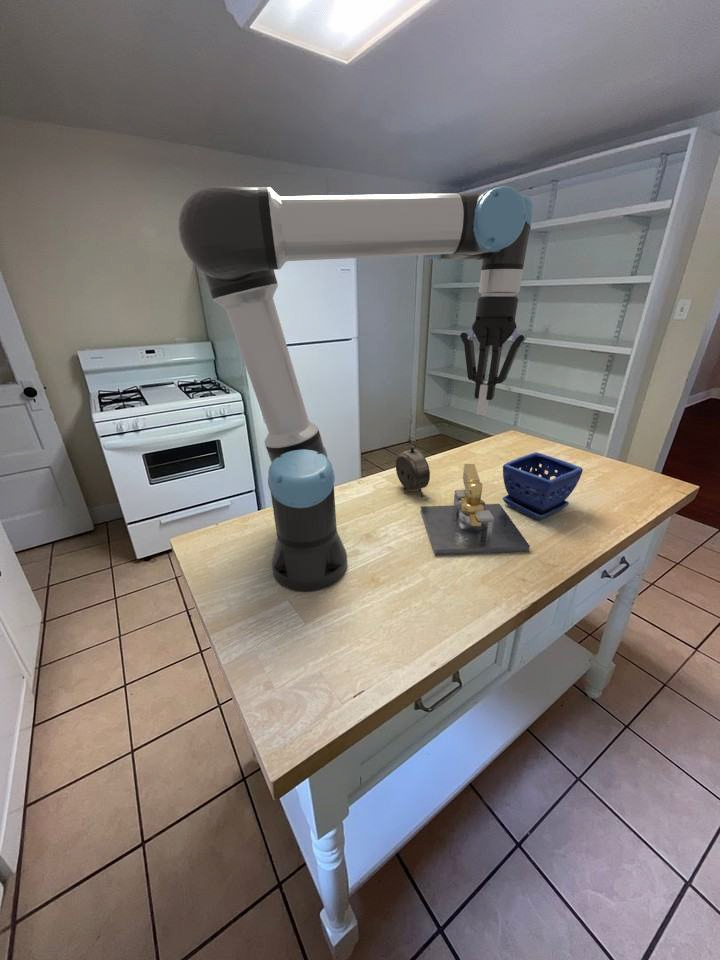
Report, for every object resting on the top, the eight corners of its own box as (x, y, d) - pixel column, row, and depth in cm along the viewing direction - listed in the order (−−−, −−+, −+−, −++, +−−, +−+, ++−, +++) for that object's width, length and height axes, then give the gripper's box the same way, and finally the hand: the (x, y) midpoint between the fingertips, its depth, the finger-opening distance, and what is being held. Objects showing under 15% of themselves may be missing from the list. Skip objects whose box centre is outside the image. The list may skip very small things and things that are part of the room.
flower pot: (541, 528, 89) (551, 482, 84) (495, 504, 99) (501, 462, 94) (574, 511, 95) (585, 467, 90) (527, 490, 105) (535, 450, 100)
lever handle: (488, 526, 80) (492, 498, 78) (463, 525, 81) (466, 497, 78) (477, 488, 96) (480, 464, 93) (456, 487, 97) (458, 463, 94)
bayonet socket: (434, 555, 81) (436, 526, 77) (420, 511, 97) (421, 486, 94) (528, 552, 81) (534, 523, 78) (498, 508, 97) (502, 483, 94)
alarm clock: (429, 497, 103) (433, 441, 96) (413, 502, 101) (415, 444, 94) (407, 481, 112) (409, 429, 105) (391, 485, 110) (392, 432, 103)
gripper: (537, 295, 74) (516, 414, 84) (471, 295, 80) (458, 405, 90) (529, 295, 68) (507, 422, 78) (459, 295, 74) (447, 413, 85)
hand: (481, 413), depth 84 cm, fingers closed
